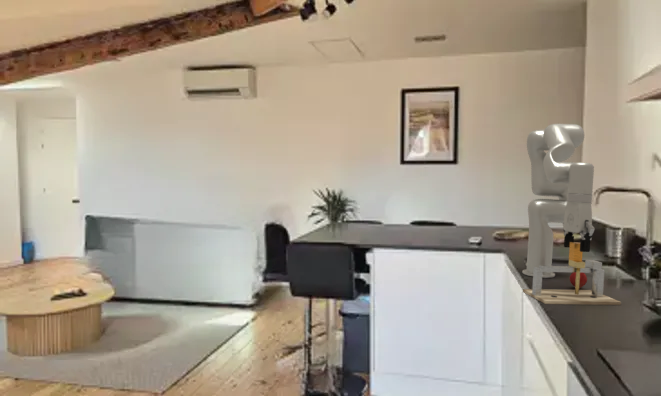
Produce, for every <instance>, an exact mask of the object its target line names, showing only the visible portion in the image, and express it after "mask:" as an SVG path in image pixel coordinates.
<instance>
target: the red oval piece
mask: <svg viewBox="0 0 661 396" xmlns="http://www.w3.org/2000/svg"><path fill="white" fill-rule="evenodd" d="M569 282H570V284H571V285H572V286H573V287H574V288H575V283H576V272H570V275H569ZM587 282H588V277H587V275H586V273H583V272H580V282H579V290H581V289H582V288H583V287H584V286H585V285H586V284H587Z"/></svg>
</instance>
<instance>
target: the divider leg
mask: <svg viewBox="0 0 661 396" xmlns="http://www.w3.org/2000/svg"><path fill="white" fill-rule="evenodd" d="M568 250H569V251H568V266H572V267H575V268H576V283H575V287H574V290H575V294H579V290H580V289H579V282H580V268H585V261H583V253H584V252H580V241H579V242H575V241H574V242H570V248H569V249H568Z"/></svg>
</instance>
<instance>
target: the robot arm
mask: <svg viewBox="0 0 661 396" xmlns="http://www.w3.org/2000/svg"><path fill="white" fill-rule="evenodd" d="M584 141H585V130H584V129H583V127H582V126H581V125H579V124H576V123H551V124H549V125H547V126H546V127H545V128H544V129H537V130H535V129H534V130H532V131H531V132H529V134H527V138H526V151H527V154H528V158H529V160H530V166H531V167H530V169H531V170H530V171H531V174H530V175H531V177H530V178H531V179H530V180H531V190H532V194H534V195H535V196H539V197H554V198H558V199H552V198H535V199H533V200H531V201H530V202H529V203H528V205H527V213H528V242H527V257H526V262H525V266H526V269H523V270H522V274H523V275H525V276H529V277H533V271H534V267H539V266H553V265H552V264H553V263H552V262H553V260H552V259H553V249H554V232H553V230H552V228H551V226H550V225H549V224H548V223H551V224H552V223H555V224H562V226H563V227H562V230H563V236H564V241H563V247H564V248H570V242H575V236H574V234H580V235H579V236H580V237H581V238H580V241H579V243H580V252H583V253H590V251H591V241H592V238H593V236H594V232H595V230H596V229H595V227H594V226H593V212H592V211H593V210H592V203H593V188H594V175H595V174H594V173H595V172H594V171H595V169H594V168H595V166H594V164H593V163H590V162H573V161H572V162H568V161H567V162H566V160H569V159H570V158H571V157H573V155H574V153H575V151H576V148H579V147H580V146H581V145H582V144H583V142H584ZM546 151H547V152H546ZM555 277H556V272H543V274H542V279H543V278H544V279H546V278H547V279H549V278H555Z"/></svg>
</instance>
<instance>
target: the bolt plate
mask: <svg viewBox="0 0 661 396" xmlns="http://www.w3.org/2000/svg"><path fill="white" fill-rule="evenodd" d="M522 293H525V294H526V295H528V296H530V297H532V298H533V299H536V300H537V301H539V302H541V303H543V304H544V305H596V306H597V305H598V306H599V305H600V306H601V305H604V306H606V305H607V306H608V305H609V306H621V304H622V301H620V300H617V299H615V298H612V297H610V296H608V295H605V294H603V297H597V296H595V295H593V294H592V289H579V294H575V289H549V288H548V289H543V288H542V289H541V296H535V295H533V294H532V288H531V289H530V288H524V289H523V288H522Z"/></svg>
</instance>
